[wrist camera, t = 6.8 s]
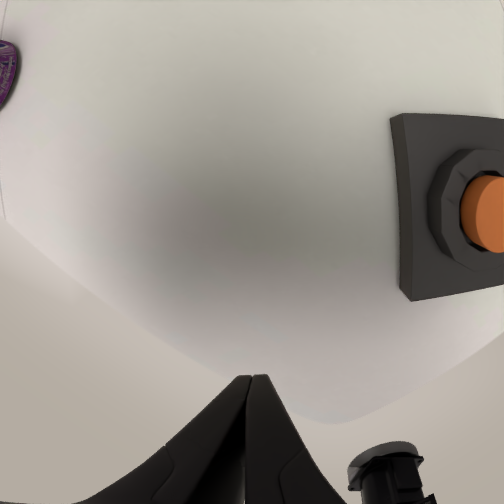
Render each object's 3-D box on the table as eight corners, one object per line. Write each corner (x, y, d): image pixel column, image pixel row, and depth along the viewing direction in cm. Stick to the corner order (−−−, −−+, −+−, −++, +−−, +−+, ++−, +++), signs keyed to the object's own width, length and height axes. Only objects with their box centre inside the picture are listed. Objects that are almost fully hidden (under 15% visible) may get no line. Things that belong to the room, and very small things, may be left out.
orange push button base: (500, 271, 18) (530, 291, 15) (399, 288, 20) (421, 315, 16) (498, 122, 16) (532, 119, 12) (389, 118, 17) (414, 108, 13)
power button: (508, 241, 14) (524, 249, 13) (459, 248, 15) (474, 257, 13) (508, 174, 13) (526, 177, 12) (458, 175, 14) (475, 177, 12)
